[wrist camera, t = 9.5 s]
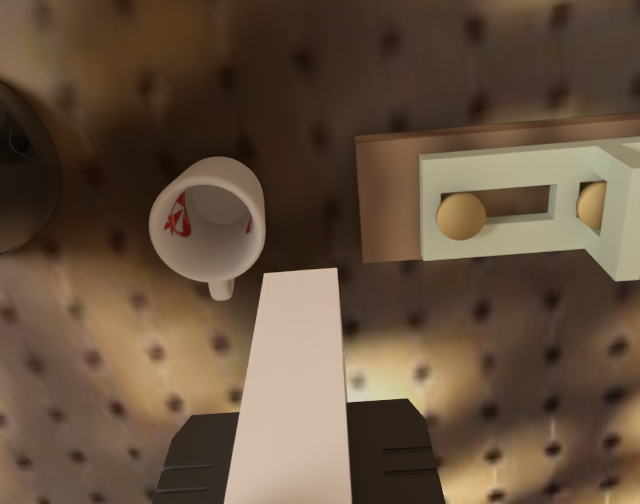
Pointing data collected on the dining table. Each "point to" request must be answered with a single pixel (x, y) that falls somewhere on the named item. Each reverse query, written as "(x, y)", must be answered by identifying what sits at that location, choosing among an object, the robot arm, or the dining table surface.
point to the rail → (469, 206)
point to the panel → (561, 220)
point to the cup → (210, 223)
